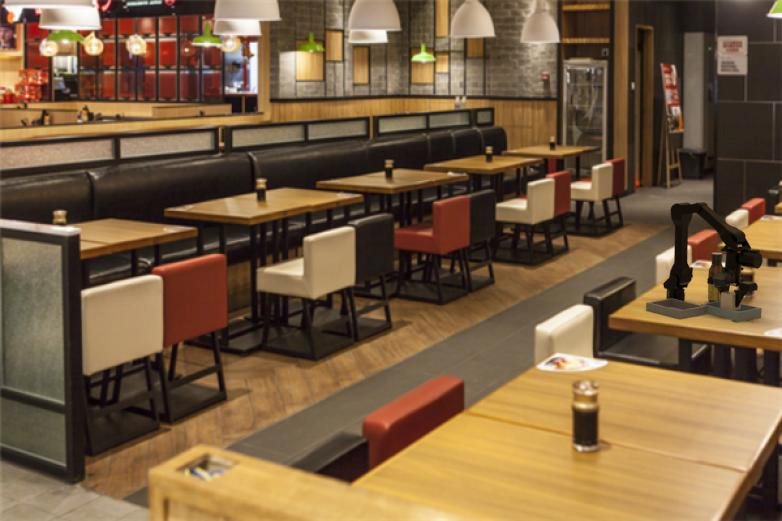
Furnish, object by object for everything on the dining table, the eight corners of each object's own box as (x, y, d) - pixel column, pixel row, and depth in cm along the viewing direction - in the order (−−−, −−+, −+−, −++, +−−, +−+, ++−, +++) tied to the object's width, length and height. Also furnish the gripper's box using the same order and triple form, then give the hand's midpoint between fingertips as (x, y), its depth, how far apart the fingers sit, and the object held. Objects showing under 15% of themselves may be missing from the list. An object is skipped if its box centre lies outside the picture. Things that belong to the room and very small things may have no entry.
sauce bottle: (722, 301, 398) (725, 251, 394) (725, 305, 392) (728, 254, 388) (705, 301, 399) (707, 251, 395) (708, 304, 392) (711, 254, 389)
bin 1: (645, 311, 381) (646, 302, 380) (671, 307, 388) (671, 298, 388) (679, 320, 367) (680, 311, 367) (705, 315, 374) (705, 306, 374)
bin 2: (700, 313, 378) (700, 304, 377) (724, 308, 385) (725, 299, 385) (736, 322, 364) (737, 312, 364) (761, 317, 371) (761, 308, 371)
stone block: (720, 308, 375) (721, 292, 374) (729, 306, 378) (730, 290, 377) (731, 310, 371) (732, 294, 370) (740, 309, 374) (741, 293, 372)
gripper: (698, 263, 375) (696, 304, 378) (739, 271, 359) (736, 313, 362) (718, 260, 381) (716, 300, 384) (759, 267, 365) (757, 309, 368)
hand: (730, 306), depth 374 cm, fingers closed on stone block, 5 cm apart
